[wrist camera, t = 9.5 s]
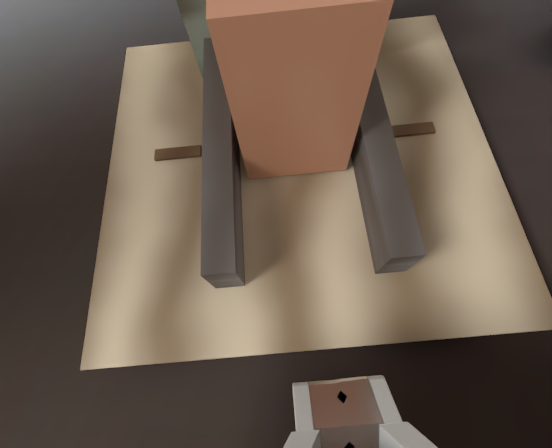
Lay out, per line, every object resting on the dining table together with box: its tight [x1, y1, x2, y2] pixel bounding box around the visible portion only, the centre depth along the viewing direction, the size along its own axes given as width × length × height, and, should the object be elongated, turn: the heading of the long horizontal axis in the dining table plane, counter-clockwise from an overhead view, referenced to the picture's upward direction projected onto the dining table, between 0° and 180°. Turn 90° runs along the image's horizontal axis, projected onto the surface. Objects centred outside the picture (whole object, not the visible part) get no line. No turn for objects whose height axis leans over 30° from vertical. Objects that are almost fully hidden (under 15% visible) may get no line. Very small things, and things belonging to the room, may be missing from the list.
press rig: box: [80, 0, 552, 370], centre depth 16 cm, size 24×23×10 cm
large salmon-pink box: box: [206, 0, 394, 179], centre depth 16 cm, size 6×6×10 cm
